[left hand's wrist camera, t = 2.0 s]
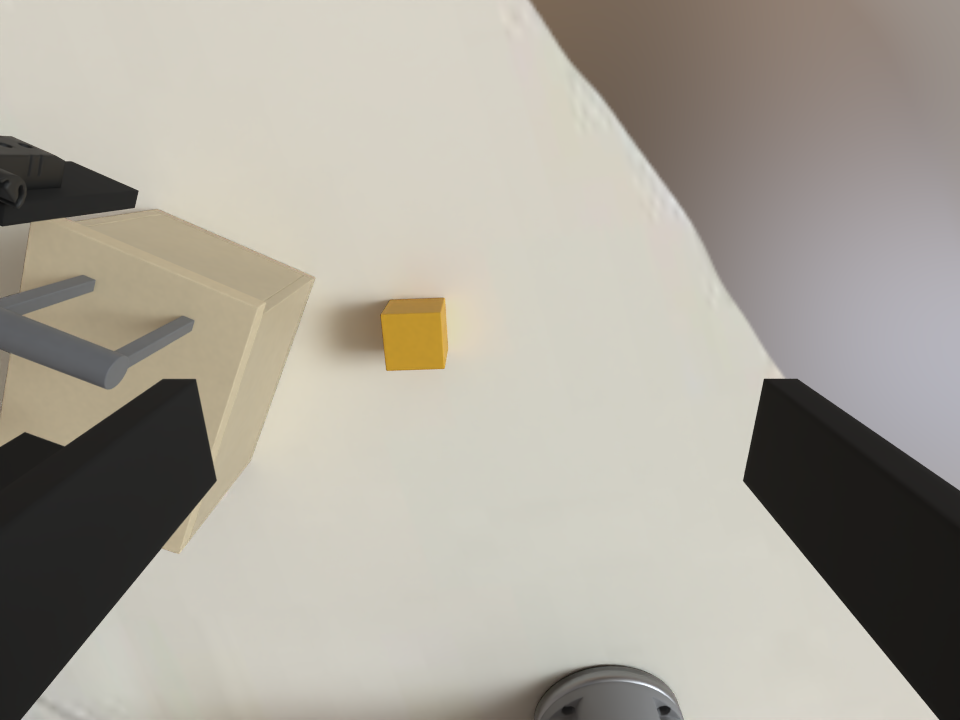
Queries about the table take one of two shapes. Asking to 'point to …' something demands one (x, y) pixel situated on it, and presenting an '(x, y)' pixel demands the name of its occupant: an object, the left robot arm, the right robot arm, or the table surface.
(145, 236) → the chest
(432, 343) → the block
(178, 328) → the lid
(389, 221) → the table surface
